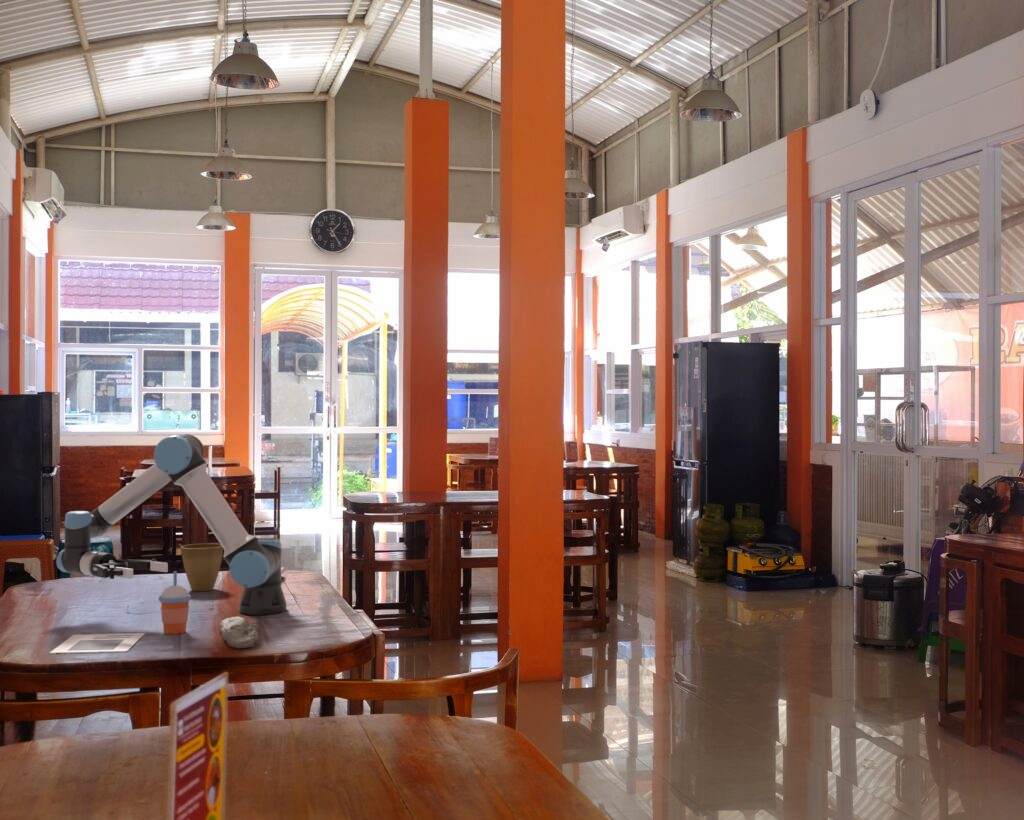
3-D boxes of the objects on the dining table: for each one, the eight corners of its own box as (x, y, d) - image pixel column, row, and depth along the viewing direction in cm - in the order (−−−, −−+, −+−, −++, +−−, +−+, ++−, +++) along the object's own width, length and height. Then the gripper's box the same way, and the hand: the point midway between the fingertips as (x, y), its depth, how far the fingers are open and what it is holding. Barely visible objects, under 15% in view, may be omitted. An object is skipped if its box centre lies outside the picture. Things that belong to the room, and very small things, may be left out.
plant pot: (232, 588, 380) (232, 544, 380) (200, 594, 367) (201, 549, 367) (203, 584, 388) (203, 541, 388) (171, 590, 375) (171, 546, 375)
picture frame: (145, 634, 305) (145, 632, 305) (126, 651, 283) (126, 650, 283) (73, 635, 302) (73, 634, 302) (49, 653, 280) (49, 652, 280)
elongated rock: (249, 628, 320) (215, 632, 317) (248, 611, 320) (214, 615, 317) (264, 647, 288) (227, 652, 284) (263, 628, 288) (226, 632, 284)
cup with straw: (181, 636, 302) (181, 574, 302) (152, 634, 304) (152, 572, 304) (196, 629, 311) (196, 569, 311) (168, 628, 313) (169, 568, 313)
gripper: (130, 571, 333) (180, 577, 323) (65, 582, 310) (116, 589, 301) (131, 547, 333) (180, 553, 323) (65, 557, 310) (117, 563, 301)
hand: (150, 570), depth 312 cm, fingers open, 13 cm apart
